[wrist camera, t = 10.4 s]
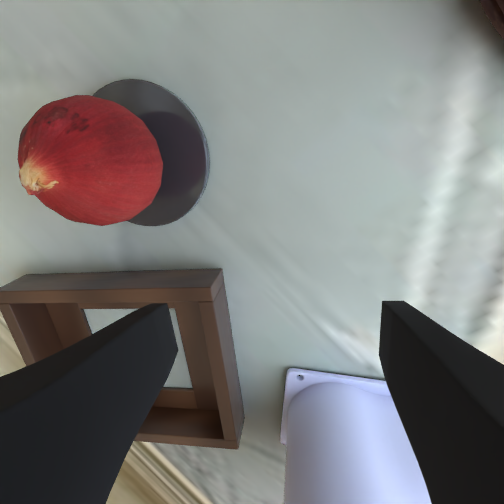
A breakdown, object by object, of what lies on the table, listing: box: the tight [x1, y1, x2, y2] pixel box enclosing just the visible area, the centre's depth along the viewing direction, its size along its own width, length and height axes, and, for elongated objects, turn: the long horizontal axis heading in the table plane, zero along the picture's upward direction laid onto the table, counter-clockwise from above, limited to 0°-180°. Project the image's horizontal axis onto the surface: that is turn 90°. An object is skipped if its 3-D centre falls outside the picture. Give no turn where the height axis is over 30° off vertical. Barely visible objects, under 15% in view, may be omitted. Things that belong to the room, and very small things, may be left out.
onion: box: [18, 95, 163, 226], centre depth 14 cm, size 6×6×8 cm
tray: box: [0, 269, 245, 449], centre depth 22 cm, size 16×14×3 cm
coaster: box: [93, 79, 210, 226], centre depth 18 cm, size 8×8×1 cm
